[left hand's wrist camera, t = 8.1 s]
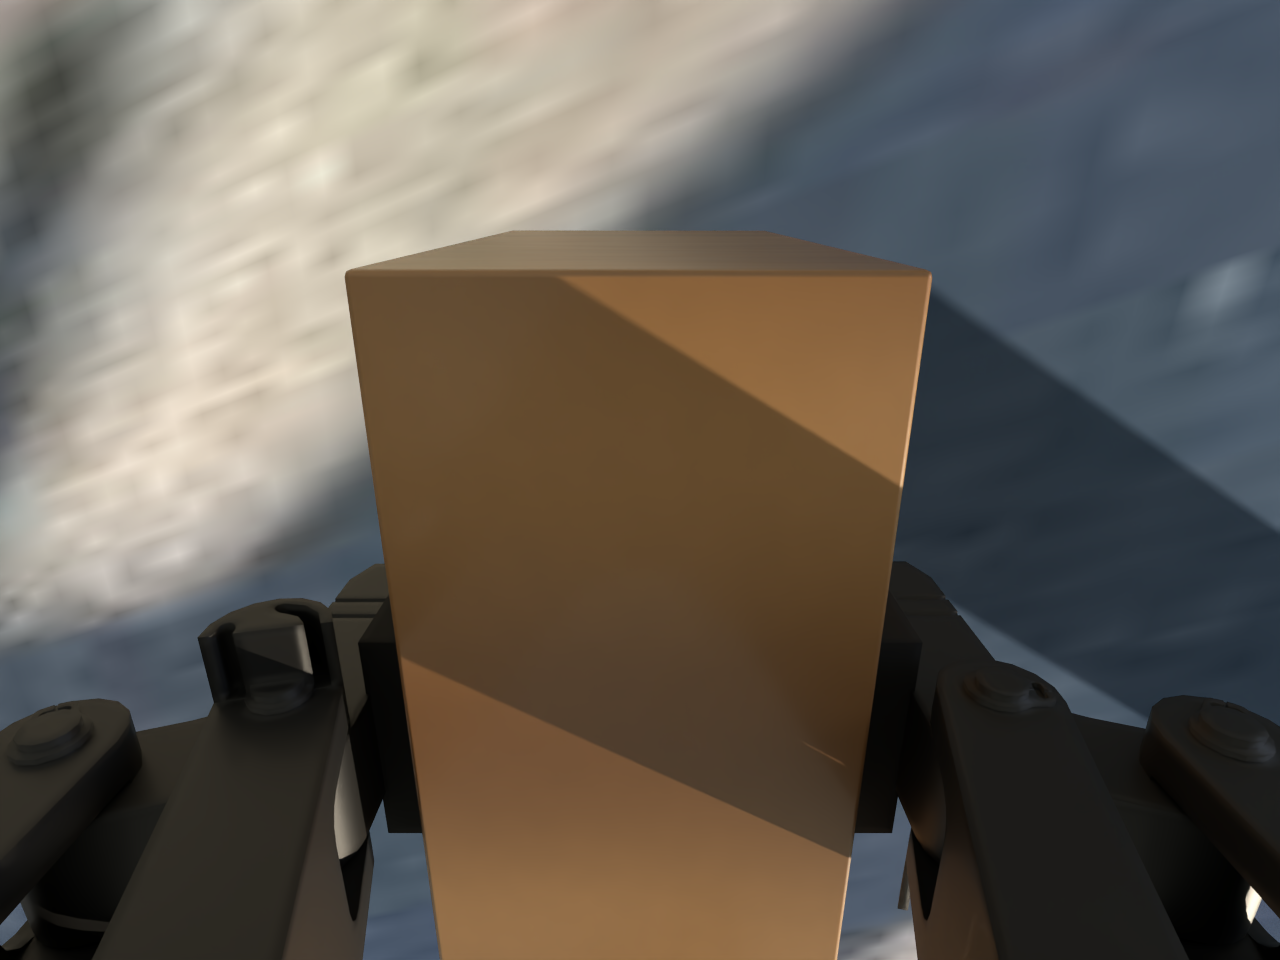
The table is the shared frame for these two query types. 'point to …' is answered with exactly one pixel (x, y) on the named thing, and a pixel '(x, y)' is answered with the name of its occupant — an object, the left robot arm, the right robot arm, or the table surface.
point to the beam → (638, 577)
